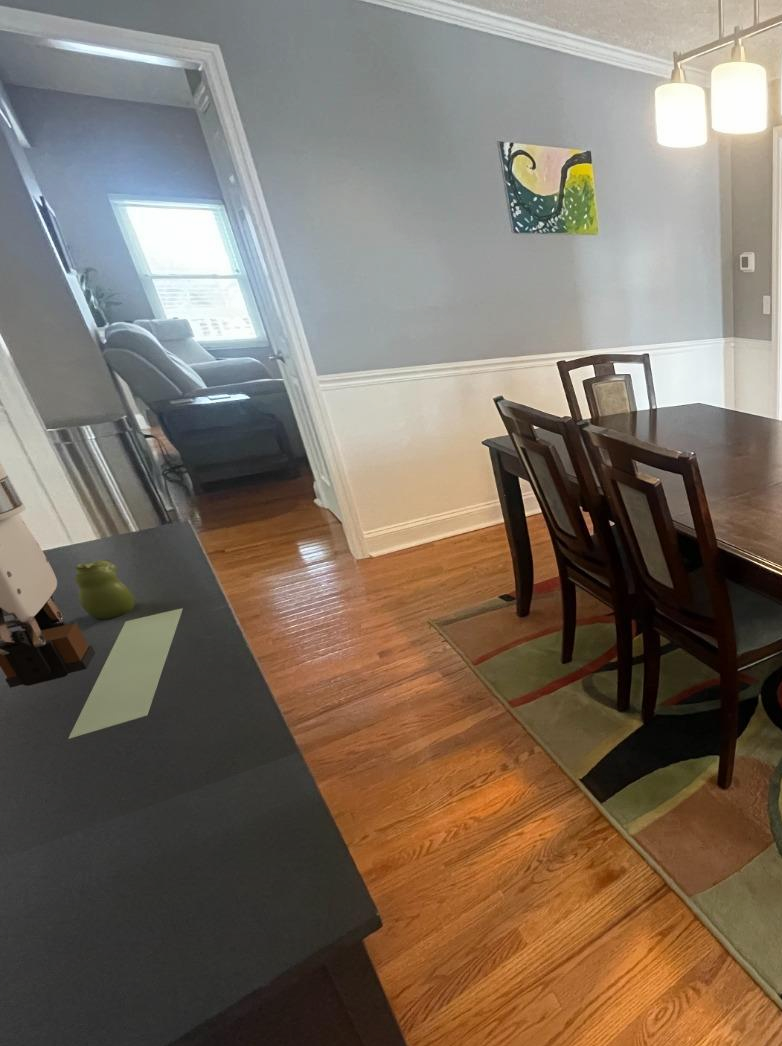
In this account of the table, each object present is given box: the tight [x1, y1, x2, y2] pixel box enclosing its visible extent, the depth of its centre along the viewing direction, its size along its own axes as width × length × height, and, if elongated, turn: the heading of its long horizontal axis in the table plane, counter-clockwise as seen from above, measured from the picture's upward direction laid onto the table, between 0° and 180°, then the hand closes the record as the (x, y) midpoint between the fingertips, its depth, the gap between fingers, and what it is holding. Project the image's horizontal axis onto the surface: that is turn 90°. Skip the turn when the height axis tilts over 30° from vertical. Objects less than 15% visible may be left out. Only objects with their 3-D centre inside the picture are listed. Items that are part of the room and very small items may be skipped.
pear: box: [74, 559, 135, 620], centre depth 93 cm, size 6×5×10 cm
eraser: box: [0, 622, 96, 689], centre depth 61 cm, size 6×4×4 cm, turn 125°
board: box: [68, 607, 184, 740], centre depth 82 cm, size 7×32×1 cm, turn 35°
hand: (53, 667), depth 62 cm, fingers closed on eraser, 3 cm apart
